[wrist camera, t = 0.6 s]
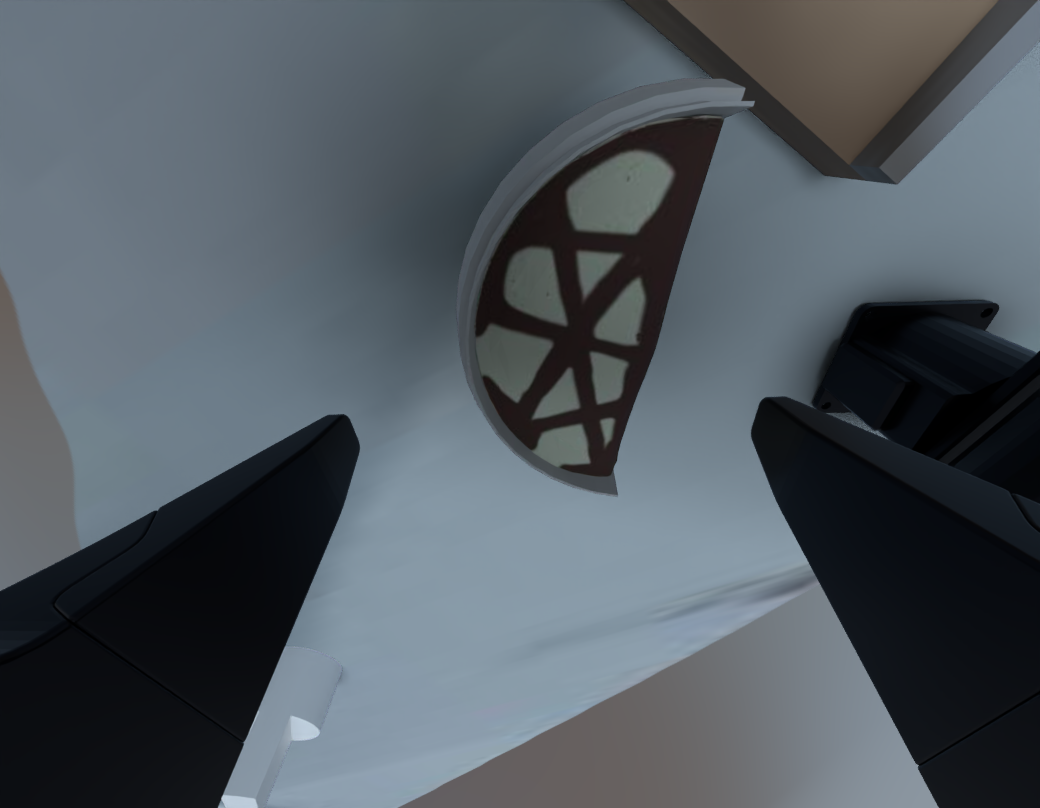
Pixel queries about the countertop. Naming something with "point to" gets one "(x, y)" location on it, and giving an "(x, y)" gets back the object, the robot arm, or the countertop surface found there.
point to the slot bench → (854, 68)
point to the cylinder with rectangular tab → (282, 722)
